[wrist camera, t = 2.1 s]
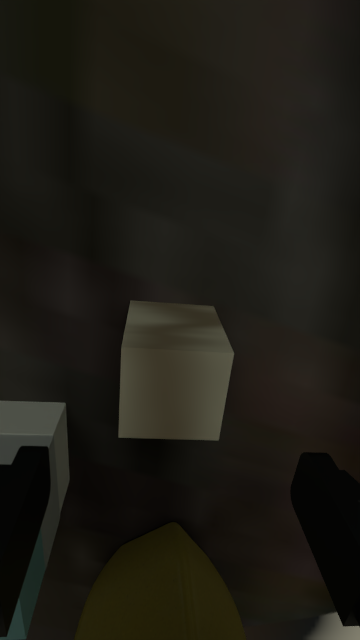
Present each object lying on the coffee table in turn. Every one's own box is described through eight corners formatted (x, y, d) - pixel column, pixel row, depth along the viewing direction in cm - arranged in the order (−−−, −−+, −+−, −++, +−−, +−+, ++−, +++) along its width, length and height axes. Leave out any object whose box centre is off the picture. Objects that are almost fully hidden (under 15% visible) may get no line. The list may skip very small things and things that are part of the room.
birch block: (213, 305, 19) (234, 353, 14) (203, 376, 21) (218, 440, 16) (130, 300, 19) (121, 347, 14) (127, 372, 21) (118, 437, 16)
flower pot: (82, 540, 26) (48, 711, 18) (181, 491, 25) (194, 652, 16) (146, 596, 29) (142, 763, 21) (236, 555, 28) (271, 716, 20)
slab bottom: (66, 400, 21) (53, 434, 19) (70, 477, 24) (59, 516, 21) (-43, 397, 21) (-73, 431, 18) (-27, 476, 23) (-52, 516, 20)
